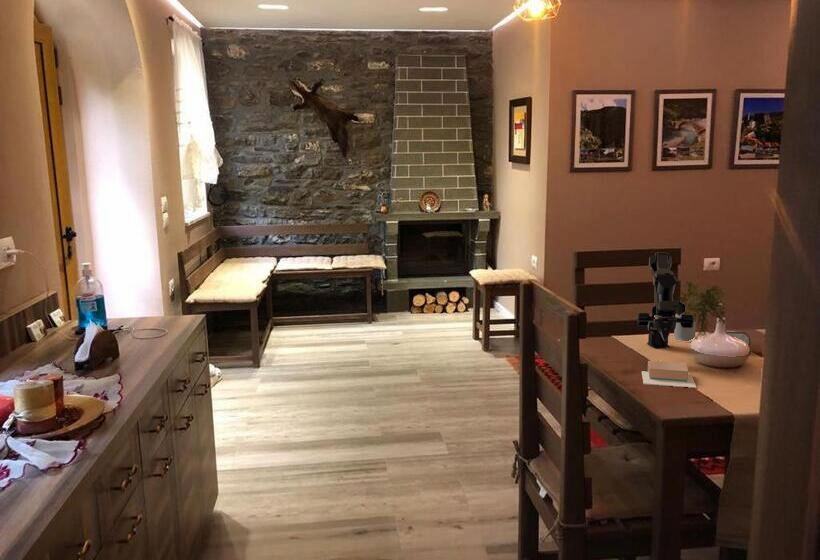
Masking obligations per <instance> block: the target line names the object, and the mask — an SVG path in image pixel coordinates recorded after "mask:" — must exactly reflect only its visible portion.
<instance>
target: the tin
mask: <svg viewBox="0 0 820 560" xmlns="http://www.w3.org/2000/svg"><path fill="white" fill-rule="evenodd" d="M725 330H726V333H727V334H728V335H730V336H732V337H736V338H738V339H741V340H743V341H745V342H746V343H747V344H748V345H749V347H750V346H751V342H752V341H751V337H750V336H749V334H748V333H747V332H746V331H745V330H742V329H725ZM714 331H715V330H713V331H711V333H713V332H714Z"/></svg>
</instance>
